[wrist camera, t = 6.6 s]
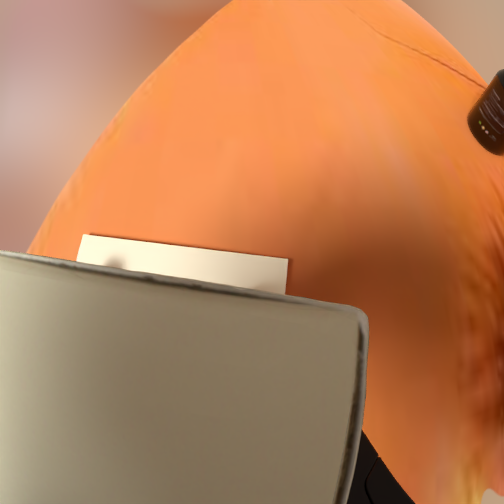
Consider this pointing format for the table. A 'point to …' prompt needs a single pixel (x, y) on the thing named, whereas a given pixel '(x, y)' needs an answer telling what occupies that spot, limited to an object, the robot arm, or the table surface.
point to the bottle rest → (187, 262)
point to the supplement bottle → (490, 116)
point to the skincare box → (173, 389)
